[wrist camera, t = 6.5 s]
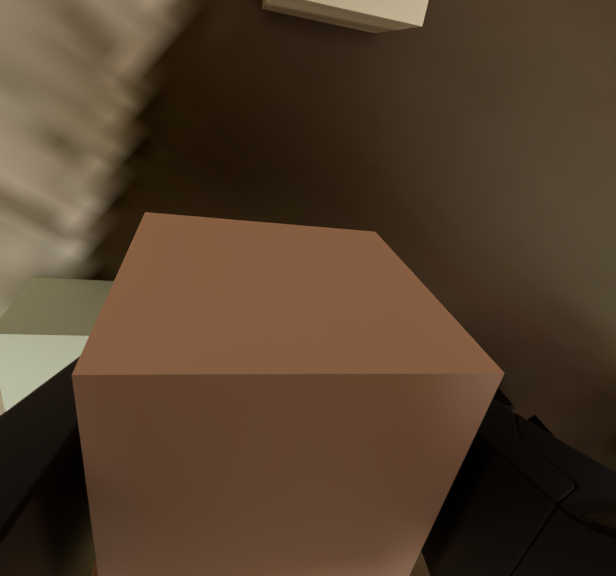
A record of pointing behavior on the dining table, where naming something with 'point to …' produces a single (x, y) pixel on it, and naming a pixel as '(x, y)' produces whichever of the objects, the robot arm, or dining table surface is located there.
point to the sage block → (46, 332)
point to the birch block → (356, 12)
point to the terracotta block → (271, 403)
